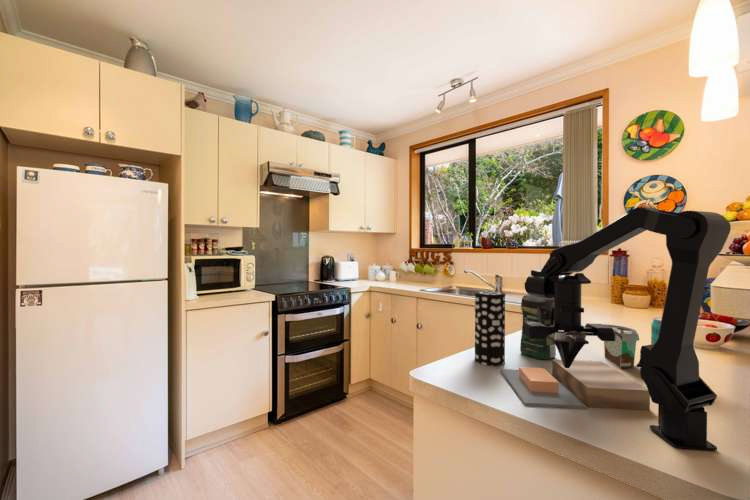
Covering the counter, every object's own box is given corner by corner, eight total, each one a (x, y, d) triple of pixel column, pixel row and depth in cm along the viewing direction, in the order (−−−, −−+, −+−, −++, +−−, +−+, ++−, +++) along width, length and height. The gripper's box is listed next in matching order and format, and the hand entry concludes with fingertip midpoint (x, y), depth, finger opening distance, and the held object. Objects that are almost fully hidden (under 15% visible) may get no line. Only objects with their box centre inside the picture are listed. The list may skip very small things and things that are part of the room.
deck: (649, 409, 70) (649, 390, 70) (587, 406, 71) (588, 387, 71) (601, 376, 88) (601, 361, 88) (552, 374, 89) (552, 359, 89)
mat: (585, 408, 70) (585, 405, 70) (525, 405, 72) (525, 402, 72) (546, 373, 90) (546, 370, 90) (500, 371, 91) (500, 368, 91)
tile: (530, 380, 77) (530, 391, 77) (558, 382, 76) (558, 392, 76) (519, 367, 86) (518, 376, 86) (543, 368, 85) (543, 377, 85)
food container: (649, 372, 91) (649, 335, 91) (623, 370, 92) (623, 334, 92) (625, 357, 103) (625, 324, 103) (602, 356, 104) (602, 323, 104)
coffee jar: (515, 353, 107) (516, 294, 107) (530, 349, 111) (531, 292, 111) (545, 362, 99) (545, 298, 98) (560, 357, 103) (560, 296, 103)
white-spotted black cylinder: (481, 354, 105) (481, 290, 105) (508, 360, 100) (509, 292, 100) (470, 361, 99) (470, 293, 99) (498, 368, 94) (499, 295, 93)
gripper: (591, 297, 87) (590, 357, 87) (515, 295, 89) (515, 355, 89) (617, 304, 76) (616, 374, 76) (530, 302, 78) (529, 370, 78)
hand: (566, 367), depth 80 cm, fingers closed
